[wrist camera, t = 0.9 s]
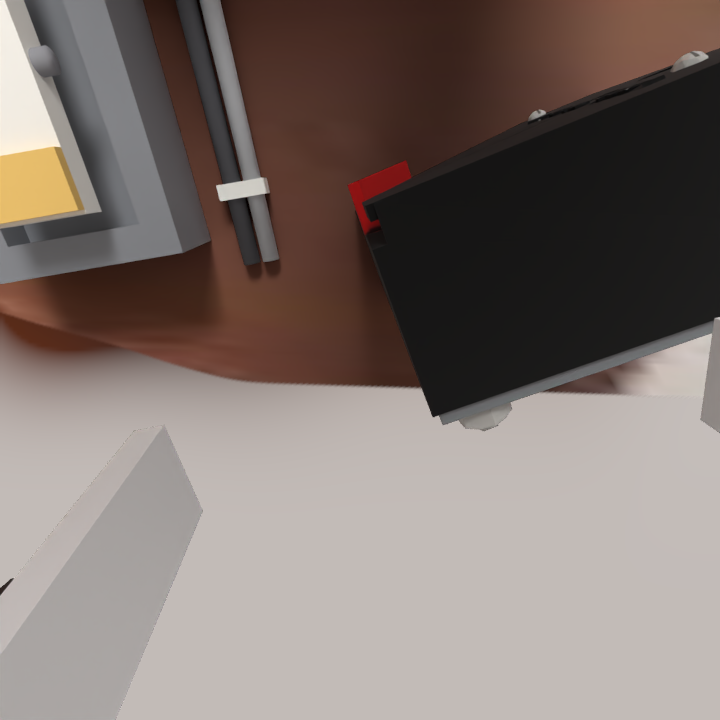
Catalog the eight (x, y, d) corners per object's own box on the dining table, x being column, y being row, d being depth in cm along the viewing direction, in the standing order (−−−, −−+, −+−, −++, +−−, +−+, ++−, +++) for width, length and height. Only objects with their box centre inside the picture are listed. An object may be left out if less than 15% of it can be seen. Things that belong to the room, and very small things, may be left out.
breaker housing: (-103, -83, 24) (-234, -161, 19) (107, -124, 24) (37, -216, 19) (49, 268, 32) (-13, 286, 26) (211, 240, 32) (182, 252, 26)
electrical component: (392, 313, 34) (450, 466, 16) (345, 184, 31) (348, 186, 12) (612, 231, 33) (968, 294, 14) (591, 82, 29) (1035, -98, 10)
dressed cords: (125, -180, 23) (112, -203, 22) (183, -192, 23) (173, -215, 22) (242, 263, 32) (237, 267, 31) (284, 256, 32) (281, 259, 31)
